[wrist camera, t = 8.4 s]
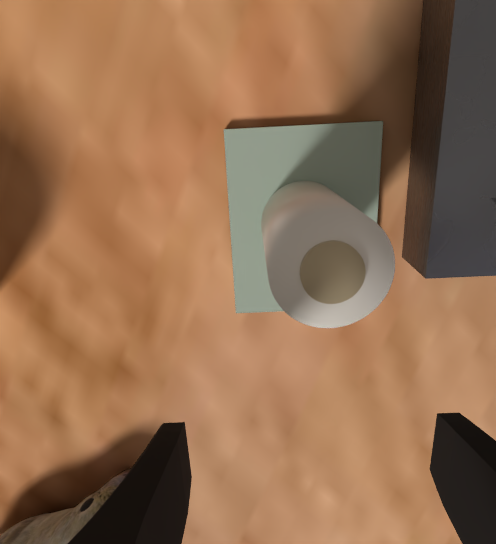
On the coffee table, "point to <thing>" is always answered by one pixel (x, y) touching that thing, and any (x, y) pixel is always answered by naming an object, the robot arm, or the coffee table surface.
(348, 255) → the plug
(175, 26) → the coffee table surface
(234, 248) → the mat
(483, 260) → the housing
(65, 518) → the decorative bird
